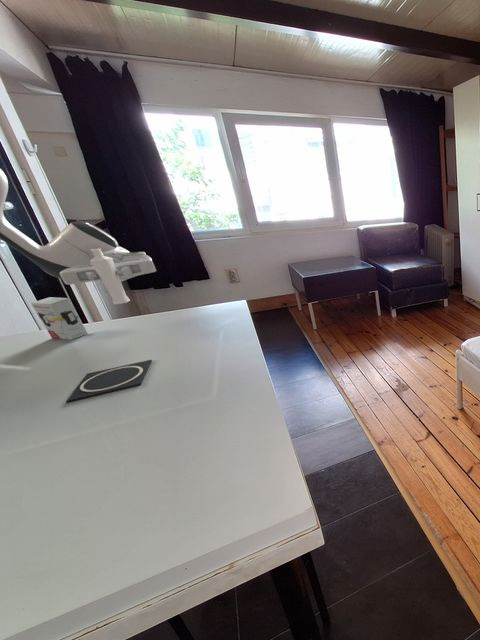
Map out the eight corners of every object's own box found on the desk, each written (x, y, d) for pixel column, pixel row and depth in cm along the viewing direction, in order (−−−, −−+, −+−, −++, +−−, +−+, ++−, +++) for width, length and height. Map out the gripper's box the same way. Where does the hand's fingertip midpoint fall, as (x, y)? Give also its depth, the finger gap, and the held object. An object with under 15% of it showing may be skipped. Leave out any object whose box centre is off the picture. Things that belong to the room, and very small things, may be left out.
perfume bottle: (118, 305, 102) (91, 251, 95) (107, 304, 103) (80, 250, 96) (135, 300, 106) (110, 247, 99) (125, 299, 107) (100, 247, 100)
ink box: (51, 338, 113) (28, 302, 108) (69, 331, 117) (48, 297, 112) (71, 340, 111) (49, 303, 106) (89, 333, 115) (68, 298, 110)
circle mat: (67, 402, 80) (65, 400, 80) (87, 374, 91) (86, 373, 90) (140, 384, 85) (139, 382, 85) (152, 360, 96) (151, 358, 96)
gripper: (60, 262, 103) (48, 271, 93) (150, 250, 114) (148, 258, 104) (72, 283, 106) (62, 294, 96) (159, 270, 117) (158, 279, 107)
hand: (107, 275), depth 100 cm, fingers closed on perfume bottle, 4 cm apart
